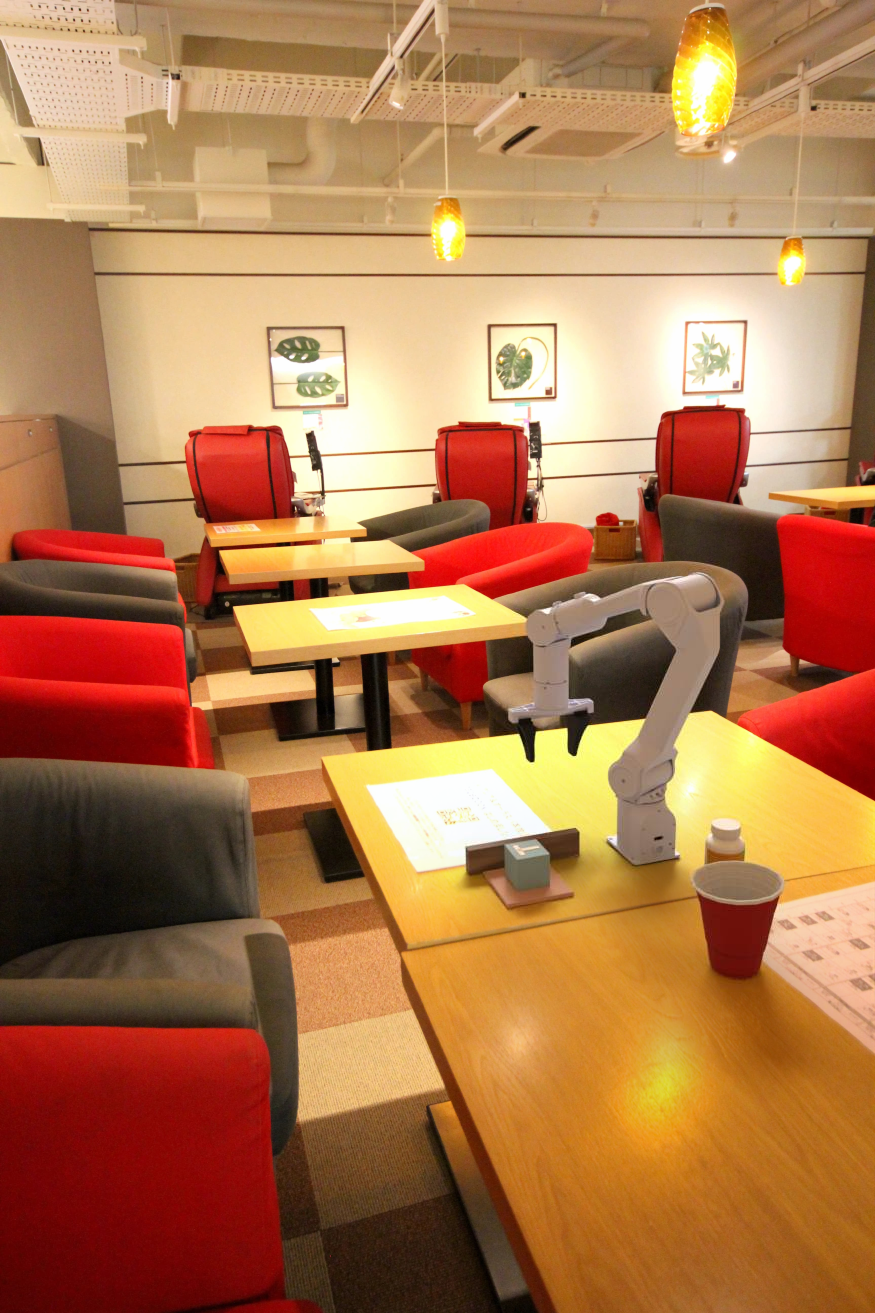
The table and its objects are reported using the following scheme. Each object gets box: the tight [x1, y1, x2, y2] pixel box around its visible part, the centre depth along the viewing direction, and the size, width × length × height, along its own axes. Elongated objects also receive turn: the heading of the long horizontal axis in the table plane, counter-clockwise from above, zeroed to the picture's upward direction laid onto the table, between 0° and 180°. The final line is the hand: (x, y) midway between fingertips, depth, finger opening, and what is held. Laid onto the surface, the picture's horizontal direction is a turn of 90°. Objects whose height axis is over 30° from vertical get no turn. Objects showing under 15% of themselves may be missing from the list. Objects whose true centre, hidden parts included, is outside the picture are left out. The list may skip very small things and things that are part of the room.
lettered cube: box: [504, 839, 551, 892], centre depth 131 cm, size 5×5×5 cm
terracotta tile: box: [483, 865, 575, 909], centre depth 132 cm, size 10×10×1 cm
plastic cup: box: [689, 860, 787, 980], centre depth 110 cm, size 11×11×12 cm
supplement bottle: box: [703, 817, 746, 865], centre depth 128 cm, size 5×5×10 cm
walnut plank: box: [465, 827, 581, 876], centre depth 138 cm, size 2×18×4 cm, turn 107°
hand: (551, 757), depth 152 cm, fingers open, 7 cm apart
